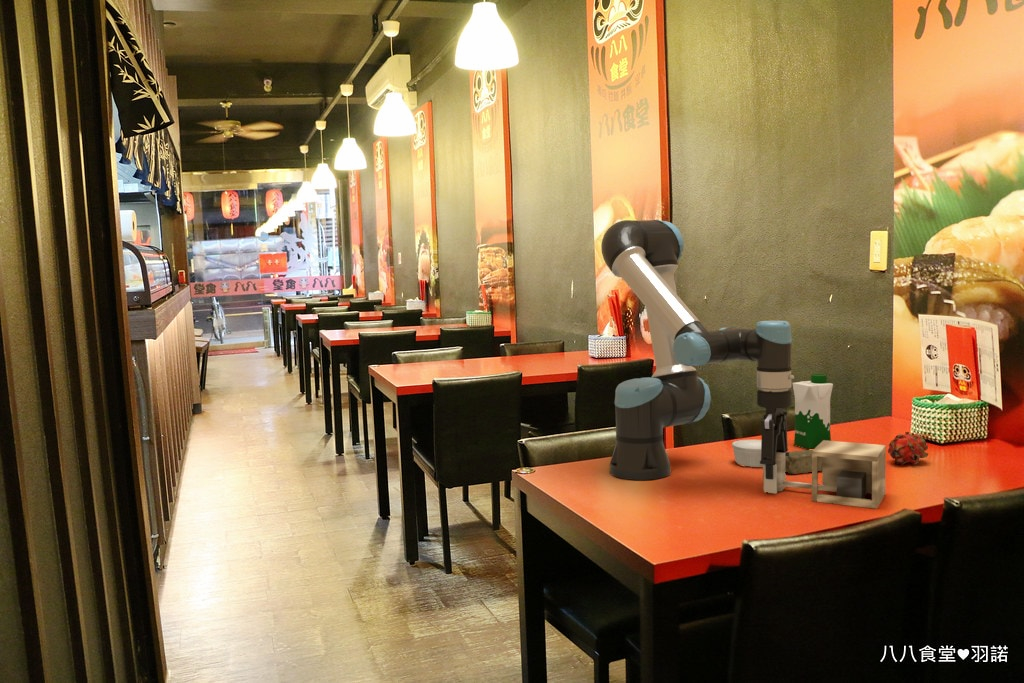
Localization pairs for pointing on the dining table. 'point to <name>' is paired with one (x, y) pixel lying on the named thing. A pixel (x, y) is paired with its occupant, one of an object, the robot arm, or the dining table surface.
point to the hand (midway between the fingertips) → (774, 488)
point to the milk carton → (812, 411)
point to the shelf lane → (850, 459)
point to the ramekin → (747, 452)
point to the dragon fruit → (907, 448)
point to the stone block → (801, 462)
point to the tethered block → (846, 485)
